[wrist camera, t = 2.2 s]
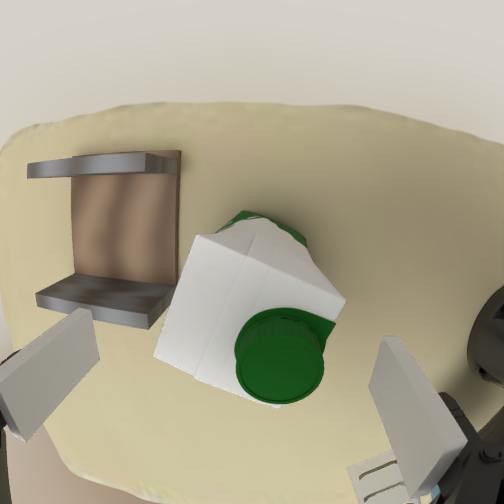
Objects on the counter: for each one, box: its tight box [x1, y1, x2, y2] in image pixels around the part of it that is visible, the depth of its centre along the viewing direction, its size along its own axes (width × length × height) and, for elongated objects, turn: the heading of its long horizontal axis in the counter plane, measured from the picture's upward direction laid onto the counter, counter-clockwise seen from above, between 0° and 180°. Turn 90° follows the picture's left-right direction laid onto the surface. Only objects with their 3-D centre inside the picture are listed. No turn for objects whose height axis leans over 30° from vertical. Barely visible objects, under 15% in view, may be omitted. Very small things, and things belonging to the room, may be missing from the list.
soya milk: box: [153, 211, 346, 409], centre depth 22 cm, size 9×9×20 cm
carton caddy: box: [27, 150, 181, 330], centre depth 28 cm, size 14×17×9 cm
